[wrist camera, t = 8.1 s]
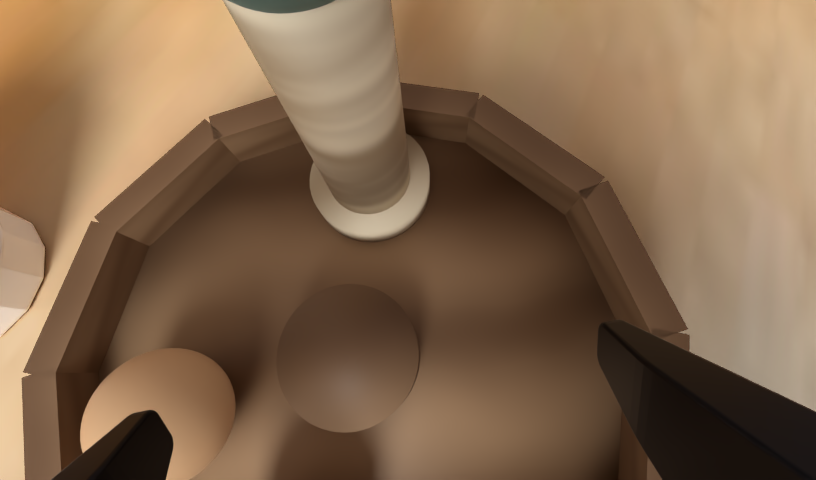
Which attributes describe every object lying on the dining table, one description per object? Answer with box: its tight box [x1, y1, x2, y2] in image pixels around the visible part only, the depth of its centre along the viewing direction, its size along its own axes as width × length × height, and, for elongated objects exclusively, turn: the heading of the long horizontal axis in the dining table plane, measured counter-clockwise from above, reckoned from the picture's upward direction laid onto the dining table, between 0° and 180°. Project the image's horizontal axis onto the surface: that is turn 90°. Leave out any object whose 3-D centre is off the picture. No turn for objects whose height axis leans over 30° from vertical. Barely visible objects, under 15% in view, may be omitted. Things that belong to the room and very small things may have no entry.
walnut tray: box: [22, 83, 689, 480], centre depth 16 cm, size 22×22×3 cm
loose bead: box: [80, 348, 236, 480], centre depth 14 cm, size 4×4×4 cm
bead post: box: [223, 0, 430, 242], centre depth 11 cm, size 5×5×15 cm
